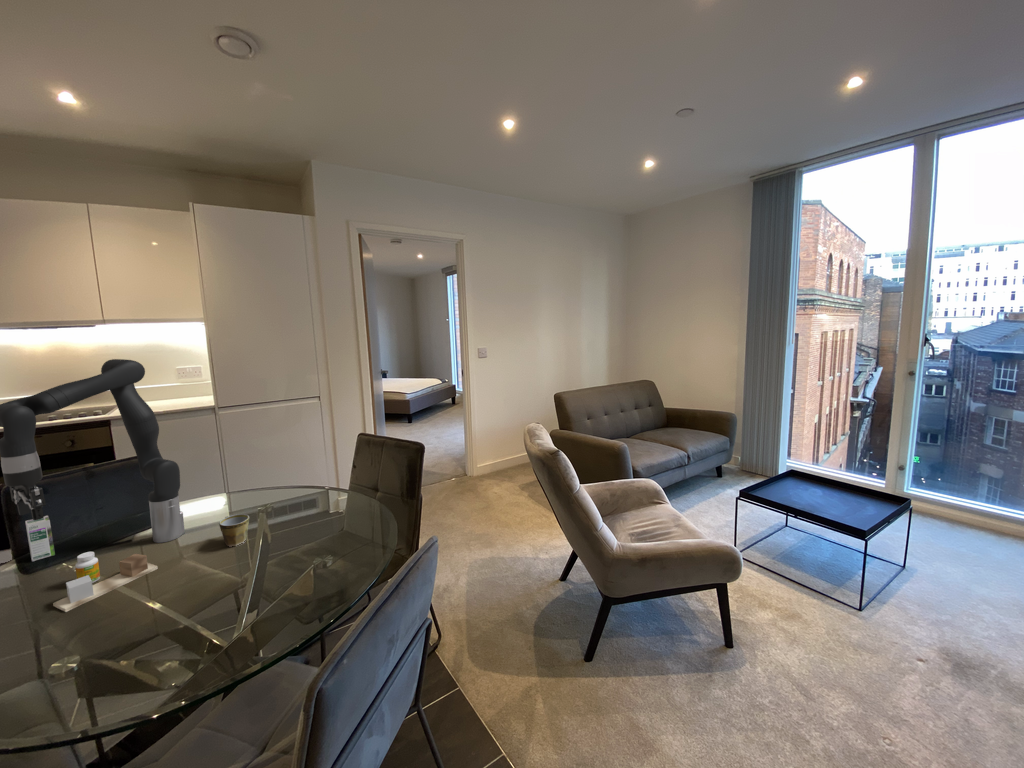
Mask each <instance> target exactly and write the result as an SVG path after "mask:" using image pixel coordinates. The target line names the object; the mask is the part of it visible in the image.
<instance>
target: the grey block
mask: <svg viewBox="0 0 1024 768" xmlns="http://www.w3.org/2000/svg"><path fill="white" fill-rule="evenodd" d="M92 585H93V583H92V580H91V578H90V577H89V575H87V576H84V577H81V578H78V579H77V578H76V579H73V580H69V581H67V582H65V586H66V593H67V597H68V598H69V600H70V603H74V602H77V601H79V600H82V599H85V598H87V597H90V596H93V595H94V593H93V586H92Z"/></svg>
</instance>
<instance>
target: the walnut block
mask: <svg viewBox="0 0 1024 768" xmlns="http://www.w3.org/2000/svg"><path fill="white" fill-rule="evenodd" d="M147 563H148V558H147V555H146V554H138V553H133V554H132V555H129V556H128V557H125V558H124V559H122V560H120V561H119V562H118V564H119V572H120V573H121V575H124V576H130V577H133V576H135V575H137V574H139V573H141V572H142V571H144V570H146V569H148V565H147Z"/></svg>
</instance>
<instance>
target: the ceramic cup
mask: <svg viewBox="0 0 1024 768" xmlns="http://www.w3.org/2000/svg"><path fill="white" fill-rule="evenodd" d="M249 523H250V516H249V515H248V514H244V513H237V514H232V515H229V516H225V517H224V518H221V520H220V521H219V523H218V526H219V530H220V531H221V534H222V537H223V540H224V544H225V546H227V547H228V546H229V547H228V548H233V547H232V546H236V547H238V546H237V545H239V544H241V543H243V544H245V542H246V541H247V538H248V537H247V536H248V529H249ZM245 540H246V541H245ZM244 541H245V542H244ZM241 545H242V544H241ZM239 546H240V545H239Z"/></svg>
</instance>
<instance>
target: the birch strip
mask: <svg viewBox="0 0 1024 768" xmlns="http://www.w3.org/2000/svg"><path fill="white" fill-rule="evenodd" d="M147 565H148V569H146V570H144V571H142V572H141V573H139V574H137V575H135V576H133V577H130V576H124V575H121V573H117V574H115V575H113V576H110V577H108V578H105V579H104V580H102V581H100V582H97V583H95V584H92V586H93V593H94V595H93V596H90V597H87V598H85V599H82V600H79V601H77V602H74V603H70V600H69V598H68V596H66V597H63V598H62V599H61V598H60V600H57V601H54V602H53V603H52V604H53V605H52V606H53V607H55V608H57V609H59V610H61V611H62V612H65V613H67V612H69V611H71V610H74V609H76V608H77V607H79V606H81V605H82V606H83V604H86V603H88V602H90V601H92V600H95V599H97V598H98V597H101V596H103V595H105V594H107V593H110V592H111V591H113V590H116V589H118V588H120V587H122V586H124V585H126V584H128V583H131V582H132V581H134V580H137V579H140V578H141V577H143V576H146V575H147V574H148V575H149V574H150V573H152V572H154V571H156V570H158V565H156V564H153V563H150V562H147Z"/></svg>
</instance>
